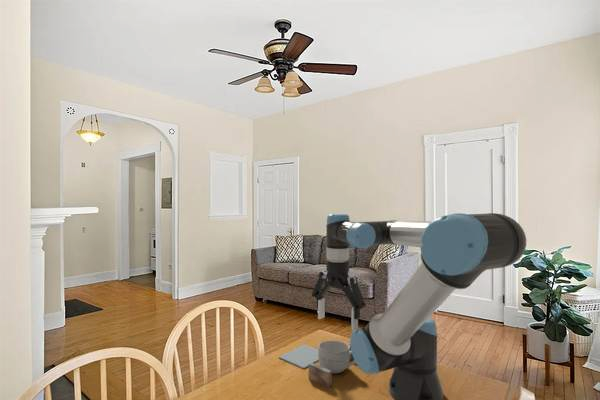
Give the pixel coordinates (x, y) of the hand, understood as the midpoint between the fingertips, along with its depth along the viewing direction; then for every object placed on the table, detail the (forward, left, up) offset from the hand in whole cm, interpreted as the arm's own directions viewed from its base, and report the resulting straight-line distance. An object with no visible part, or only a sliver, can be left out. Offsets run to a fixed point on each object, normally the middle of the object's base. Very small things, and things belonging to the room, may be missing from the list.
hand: (337, 323), depth 113 cm
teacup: (0, 0, -16) cm, 16 cm away
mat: (+15, 0, -16) cm, 21 cm away
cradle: (0, 0, -16) cm, 16 cm away
